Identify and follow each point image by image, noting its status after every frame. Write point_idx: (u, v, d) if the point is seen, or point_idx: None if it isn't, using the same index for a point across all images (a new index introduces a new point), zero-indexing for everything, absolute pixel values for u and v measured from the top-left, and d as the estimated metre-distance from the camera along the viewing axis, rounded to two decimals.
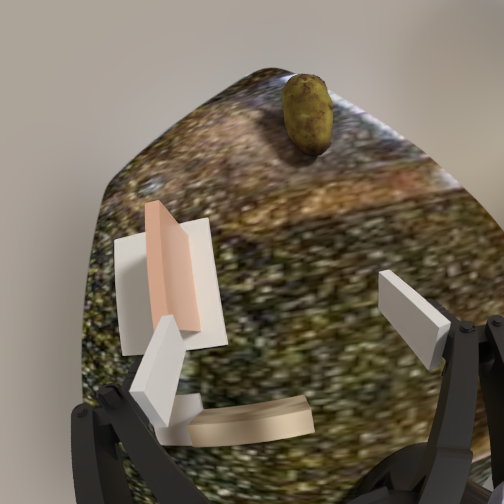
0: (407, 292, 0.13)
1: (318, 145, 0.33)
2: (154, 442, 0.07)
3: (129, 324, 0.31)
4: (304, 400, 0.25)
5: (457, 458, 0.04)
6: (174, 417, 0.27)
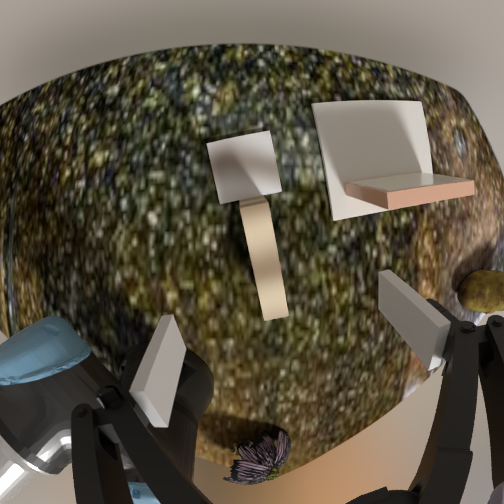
0: (407, 292, 0.13)
1: (465, 299, 0.33)
2: (154, 442, 0.07)
3: (347, 114, 0.27)
4: None
5: (457, 458, 0.04)
6: (249, 163, 0.29)
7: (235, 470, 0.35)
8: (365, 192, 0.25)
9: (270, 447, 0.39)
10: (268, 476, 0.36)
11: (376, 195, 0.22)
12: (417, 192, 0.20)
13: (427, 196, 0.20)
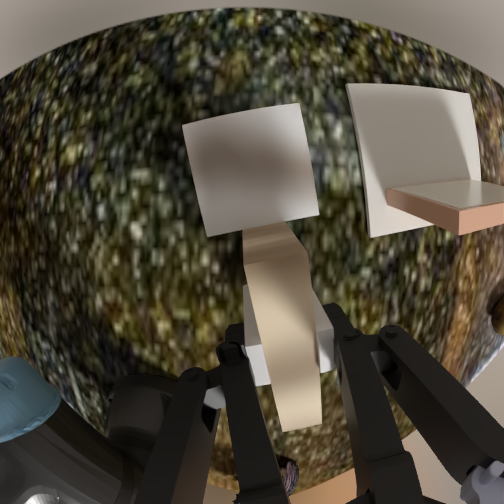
0: None
1: (500, 324, 0.25)
2: (259, 408, 0.08)
3: (390, 101, 0.19)
4: None
5: (395, 464, 0.04)
6: (261, 161, 0.15)
7: None
8: (421, 205, 0.17)
9: None
10: None
11: (440, 212, 0.14)
12: (489, 211, 0.12)
13: (498, 216, 0.12)
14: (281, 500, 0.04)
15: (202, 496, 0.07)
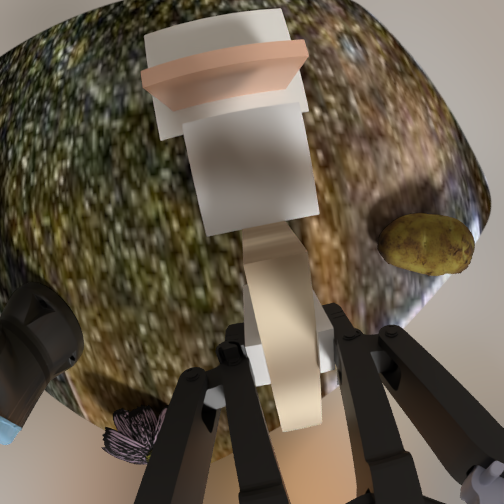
0: None
1: (386, 249, 0.28)
2: (259, 408, 0.08)
3: (178, 35, 0.22)
4: None
5: (395, 464, 0.04)
6: (261, 160, 0.15)
7: (107, 440, 0.29)
8: None
9: (148, 423, 0.34)
10: (146, 457, 0.31)
11: None
12: (185, 61, 0.15)
13: (204, 63, 0.15)
14: (282, 500, 0.04)
15: (202, 496, 0.07)
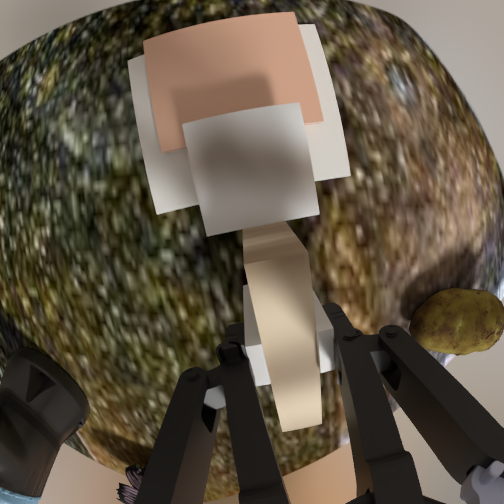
0: None
1: (420, 335, 0.23)
2: (259, 408, 0.08)
3: None
4: None
5: (395, 464, 0.04)
6: (261, 160, 0.15)
7: (121, 494, 0.25)
8: None
9: None
10: None
11: None
12: None
13: None
14: (282, 500, 0.04)
15: (202, 496, 0.07)
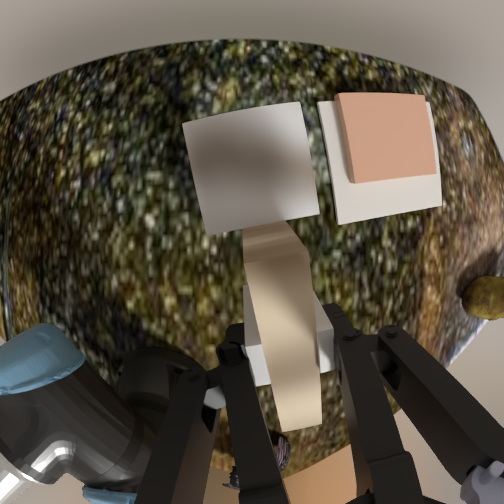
0: None
1: (470, 305, 0.32)
2: (259, 408, 0.08)
3: None
4: None
5: (395, 464, 0.04)
6: (261, 159, 0.15)
7: (234, 477, 0.33)
8: (343, 133, 0.26)
9: None
10: None
11: (339, 112, 0.25)
12: None
13: None
14: (281, 500, 0.04)
15: (202, 496, 0.07)
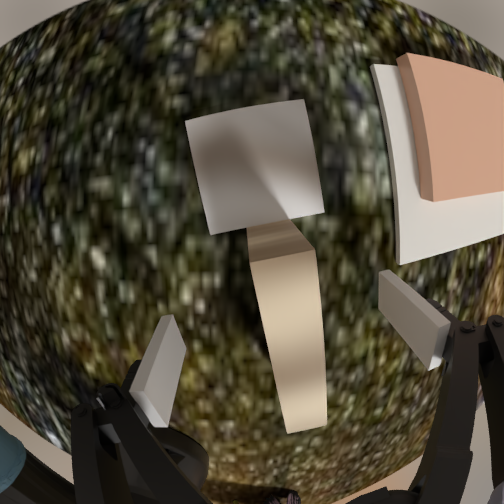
0: (407, 292, 0.13)
1: None
2: (154, 442, 0.07)
3: None
4: None
5: (457, 458, 0.04)
6: (265, 157, 0.15)
7: None
8: (414, 117, 0.14)
9: None
10: None
11: (407, 83, 0.13)
12: None
13: None
14: None
15: None
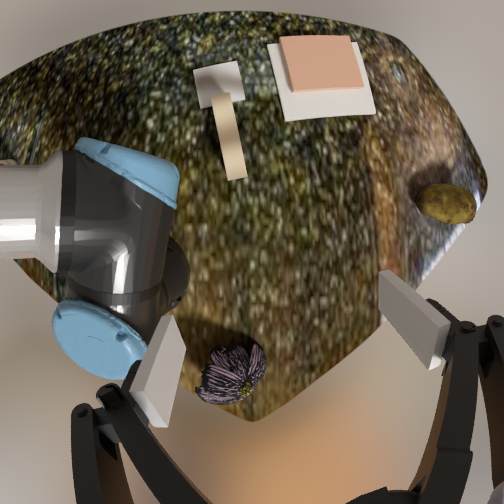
0: (407, 292, 0.13)
1: (422, 203, 0.40)
2: (154, 442, 0.07)
3: None
4: None
5: (457, 458, 0.04)
6: (222, 81, 0.36)
7: (206, 376, 0.42)
8: (285, 61, 0.34)
9: (243, 356, 0.46)
10: (241, 390, 0.43)
11: (281, 49, 0.33)
12: None
13: None
14: None
15: None
